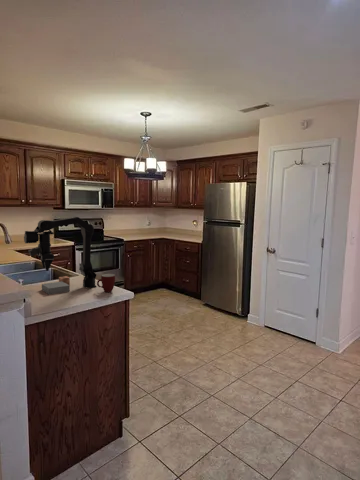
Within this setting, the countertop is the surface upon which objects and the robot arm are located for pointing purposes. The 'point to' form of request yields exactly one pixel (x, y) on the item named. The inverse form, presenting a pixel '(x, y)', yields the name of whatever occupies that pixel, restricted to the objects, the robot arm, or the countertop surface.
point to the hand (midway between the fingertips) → (45, 269)
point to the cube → (65, 280)
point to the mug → (107, 282)
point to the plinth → (55, 287)
